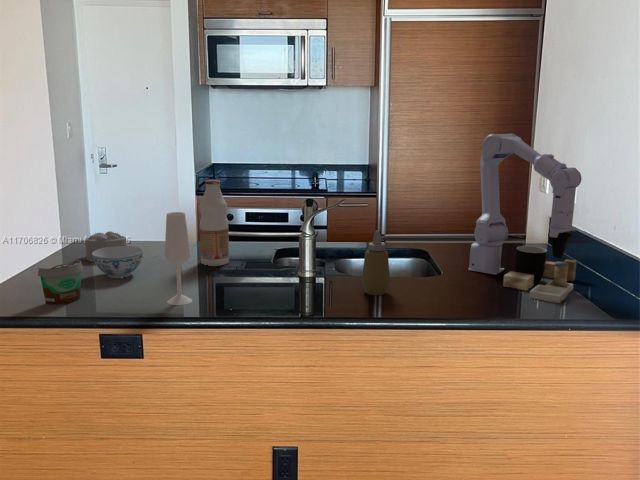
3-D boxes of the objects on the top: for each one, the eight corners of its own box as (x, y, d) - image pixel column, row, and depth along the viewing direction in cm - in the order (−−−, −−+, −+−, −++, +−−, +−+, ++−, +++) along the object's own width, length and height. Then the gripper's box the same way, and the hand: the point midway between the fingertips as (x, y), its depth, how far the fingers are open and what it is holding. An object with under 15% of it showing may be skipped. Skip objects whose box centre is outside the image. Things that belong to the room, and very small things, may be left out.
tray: (529, 297, 163) (529, 290, 163) (537, 290, 170) (538, 284, 169) (559, 303, 159) (559, 296, 158) (566, 296, 165) (567, 289, 165)
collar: (545, 289, 171) (545, 285, 170) (551, 285, 176) (551, 280, 175) (567, 293, 167) (568, 288, 167) (573, 288, 172) (573, 283, 172)
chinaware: (105, 285, 171) (103, 260, 170) (86, 274, 182) (84, 250, 181) (153, 276, 181) (151, 252, 179) (132, 266, 192) (131, 243, 190)
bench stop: (516, 272, 189) (518, 254, 188) (519, 270, 192) (521, 252, 190) (572, 281, 179) (574, 262, 178) (574, 279, 182) (576, 260, 181)
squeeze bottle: (392, 290, 169) (394, 229, 165) (386, 298, 162) (388, 234, 158) (365, 287, 172) (366, 227, 168) (357, 295, 164) (359, 232, 160)
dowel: (551, 289, 171) (553, 263, 169) (554, 286, 174) (557, 260, 172) (563, 292, 169) (566, 265, 167) (567, 289, 172) (569, 262, 170)
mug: (547, 286, 175) (551, 253, 172) (517, 285, 175) (519, 252, 173) (537, 275, 186) (540, 244, 184) (508, 274, 187) (510, 243, 185)
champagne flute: (171, 297, 161) (166, 211, 156) (195, 297, 161) (191, 211, 156) (163, 304, 155) (159, 215, 150) (189, 305, 155) (185, 216, 149)
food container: (54, 309, 151) (51, 271, 149) (40, 304, 154) (36, 268, 152) (95, 296, 161) (92, 261, 159) (81, 292, 164) (78, 258, 162)
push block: (502, 286, 174) (503, 275, 173) (510, 282, 179) (510, 271, 178) (526, 291, 170) (527, 279, 169) (533, 286, 175) (534, 275, 174)
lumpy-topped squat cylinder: (96, 254, 209) (94, 230, 207) (132, 254, 208) (130, 230, 206) (83, 261, 198) (81, 236, 197) (121, 262, 198) (119, 237, 196)
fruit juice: (201, 267, 192) (198, 182, 186) (200, 260, 201) (197, 178, 195) (230, 265, 194) (228, 181, 188) (228, 258, 203) (226, 178, 197)
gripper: (570, 216, 157) (565, 265, 160) (584, 209, 168) (579, 255, 171) (543, 213, 161) (539, 261, 164) (558, 206, 172) (554, 251, 175)
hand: (557, 257), depth 168 cm, fingers closed
